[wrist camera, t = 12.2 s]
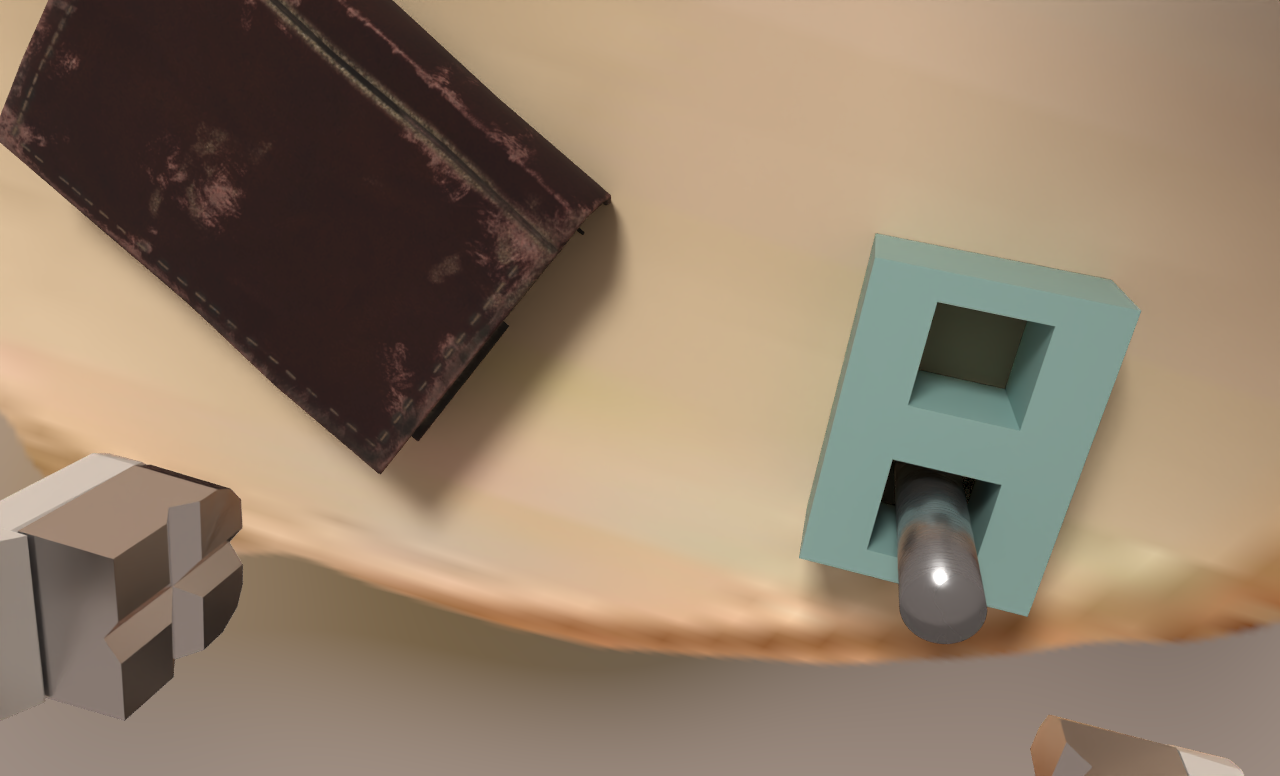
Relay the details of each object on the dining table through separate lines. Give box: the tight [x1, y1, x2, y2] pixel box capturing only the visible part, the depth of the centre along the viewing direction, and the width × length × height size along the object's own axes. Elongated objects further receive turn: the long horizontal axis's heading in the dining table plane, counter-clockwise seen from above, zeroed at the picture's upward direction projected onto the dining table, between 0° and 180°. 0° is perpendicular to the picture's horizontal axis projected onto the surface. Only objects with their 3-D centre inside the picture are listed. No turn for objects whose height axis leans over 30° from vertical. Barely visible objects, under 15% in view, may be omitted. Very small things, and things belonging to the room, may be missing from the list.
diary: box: [0, 0, 611, 474], centre depth 45 cm, size 19×25×5 cm
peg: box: [894, 460, 987, 644], centre depth 39 cm, size 3×3×12 cm
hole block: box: [799, 234, 1141, 617], centre depth 41 cm, size 14×10×5 cm
